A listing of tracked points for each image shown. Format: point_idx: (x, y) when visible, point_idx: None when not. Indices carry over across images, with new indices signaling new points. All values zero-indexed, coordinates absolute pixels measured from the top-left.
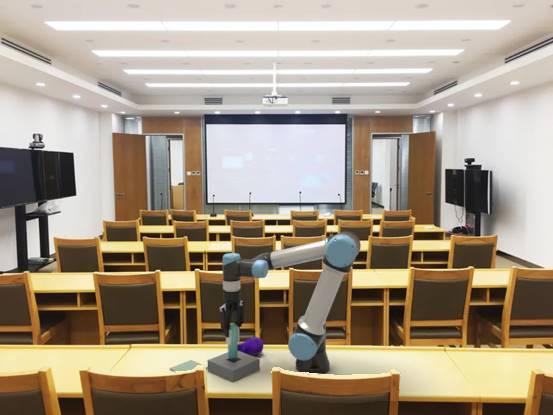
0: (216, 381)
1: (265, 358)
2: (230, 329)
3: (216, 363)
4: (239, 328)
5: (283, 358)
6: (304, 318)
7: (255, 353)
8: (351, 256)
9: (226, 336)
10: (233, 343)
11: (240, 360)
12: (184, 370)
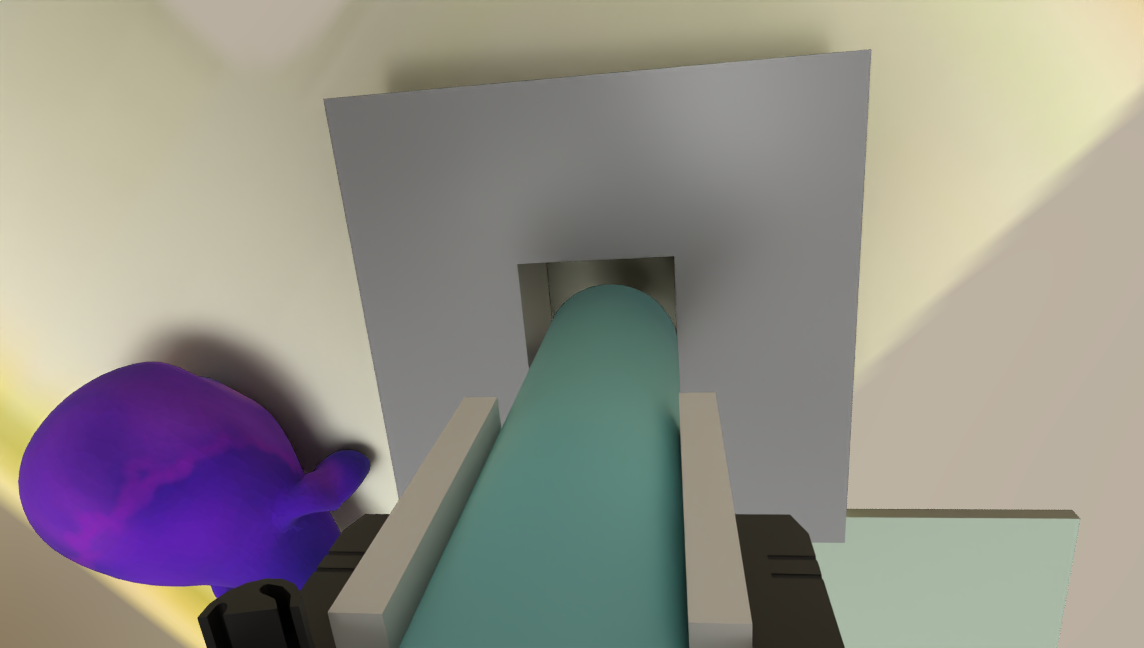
0: (936, 216)
1: (177, 277)
2: None
3: (844, 396)
4: (318, 596)
5: (16, 136)
6: None
7: (221, 386)
8: None
9: (808, 551)
10: (635, 386)
11: (555, 245)
12: (984, 622)
